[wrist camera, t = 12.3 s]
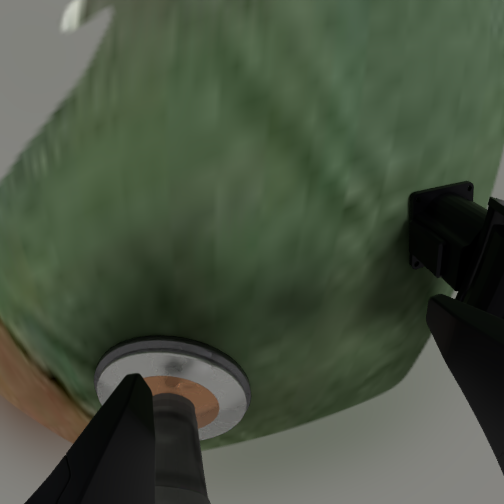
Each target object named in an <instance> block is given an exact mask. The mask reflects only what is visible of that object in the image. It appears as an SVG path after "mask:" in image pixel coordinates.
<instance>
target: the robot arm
mask: <svg viewBox="0 0 504 504" xmlns="http://www.w3.org/2000/svg"><path fill="white" fill-rule="evenodd" d="M468 186H469V187H468ZM473 190H474V186H473V184H472V183H471V182H469V181H465V182H460V183H455V184H450V185H446V186H441V187H436V188H431V189H427V190H422V191H417V192H414V193H413V194H412V195H411V199H410V203H411V222H410V236H409V252H410V266H411V267H412V268H413V269H418V268H421V267H424V266H425V267H426V268H427V269H429V270H430V271H431V272H432V273H433V274H434V275H435V276H436V277H437V278H440V277H442V278H443V279H444V280H445V281H446V282H447V283H448V284H449V285H450V286H451V287H452V288H453V289H454V290H455V291H458V293H457V296H456V298H455V299H453V298H451V297H448V296H446V295H443V294H438V295H435V296H432V297H430V299H429V301H428V308H427V314H426V322H427V325H428V327H429V329H430V331H431V333H432V335H433V337H434V339H435V341H436V343H437V346H438V348H439V350H440V352H441V354H442V356H443V358H444V360H445V362H446V364H447V366H448V368H449V369H450V371H451V373H452V374H453V376H454V378H455V380H456V381H457V383H458V385H459V387H460V388H461V390H462V392H463V393H464V395H465V397H466V399H467V401H468V403H469V405H470V406H471V408H472V410H473V412H474V414H475V416H476V418H477V420H478V422H479V424H480V426H481V427H482V429H483V431H484V433H485V435H486V437H487V440H488V442H489V444H490V446H491V448H492V450H493V452H494V454H495V456H496V459H497V461H498V463H499V465H500V467H501V470H502V472H503V475H504V201H503V200H500V199H497V198H493V197H490V198H489V202H488V205H489V207H488V210H487V209H485V208H483V207H482V206H480V205H478V204H476V203H475V202H473ZM417 197H418V200H417V201H416V198H417ZM416 261H417V262H416ZM415 262H416V264H415ZM155 449H156V436H155V423H154V409H153V395H152V391H151V389H150V387H149V386H148V384H147V383H146V382H145V380H144V379H143V377H142V376H141V374H139V373H132V374H127V375H126V376H125V377H124V378H123V379H122V381H121V382H120V383H119V385H118V386H117V387H116V388H115V390H114V391H113V392H112V394H111V395H110V396H109V398H108V399H107V400H106V401H105V403H104V404H103V405H102V407H101V408H100V409H99V411H98V412H97V413H96V415H95V416H94V417H93V418H92V420H91V421H90V422H89V424H88V425H87V426H86V428H85V429H84V430H83V432H82V433H81V434H80V436H79V437H78V438H77V440H76V441H75V442H74V444H73V445H72V446H71V448H70V449H69V450H68V452H67V453H66V455H65V456H64V457H63V459H62V460H61V461H60V463H59V464H58V465H57V466H56V468H55V469H54V470H53V471H52V473H51V474H50V475H49V477H48V478H47V479H46V480H45V481H44V482H43V483H42V485H41V486H40V487H39V488H38V489H37V490H36V491H35V492H34V493H33V495H32V496H31V497H30V498H29V499H28V500H27V501H26V502H25V503H24V504H155Z"/></svg>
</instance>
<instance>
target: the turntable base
mask: <svg viewBox="0 0 504 504" xmlns="http://www.w3.org/2000/svg"><path fill="white" fill-rule="evenodd" d="M145 348H172V349H179V350H185V351H189V352H193V353H197V354H200V355H203V356H206V357H208V358H210V359H212V360H215V361H217V362H218V363H220V364H222V365H224V366H225V367H226V368H228V369H229V370H230V371H232V372H233V373H234V374H235V375H236V376H237V378H238V379H239V380H240V381H241V383H242V385H243V387H244V390H245V394H246V404H247V406H246V411H247V409H248V407H249V404H250V400H251V390H250V384H249V380H248V378H247V376H246V374H245V372H244V371H243V369H242V368H241V366H240V365H239V364H238V363H237V362H236V361H235V360H233V359H232V358H231V357H229V356H228V355H227V354H225V353H223V352H221V351H220V350H218V349H216V348H214V347H211V346H209V345H207V344H204V343H201V342H198V341H194V340H190V339H186V338H180V337H174V336H145V337H138V338H134V339H129V340H126V341H124V342H121V343H119V344H117V345H115V346H113V347H112V348H110V349H109V350H108V351H107V352H106V353H105V354H104V355H103V356H102V357H101V359H100V361H99V362H98V365H97V368H96V371H95V375H94V385H95V390H96V392H97V384H98V380H99V377H100V374H101V371H102V370H103V368H104V367H105V366H106V364H107V363H108V362H110V361H111V360H112V359H113V358H115V357H117V356H119V355H121V354H124V353H126V352H129V351H133V350H138V349H145ZM97 395H98V394H97ZM246 411H245V412H246Z"/></svg>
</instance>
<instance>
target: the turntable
mask: <svg viewBox="0 0 504 504" xmlns="http://www.w3.org/2000/svg"><path fill="white" fill-rule="evenodd" d="M132 373H139V374H141V376H142V377H143V379H144V380H145V382H146V383H147V384H148V386H149V387H150V389H151V391H152V395H153V396H154V395H156V394H161V393H172V394H178V395H180V396H183V397H186V398H187V399H189V400H190V401H191V402H192V403H193V404H194V406H195V414H196V419H197V423H198V431H199V440H205V439H209V438H213V437H216V436H218V435H221V434H223V433H225V432H227V431H229V430H230V429H232V428H233V427H234V426H236V425H237V424H238V423H239V422H240V420H241V419H242V417H243V416H244V414H245V411H246V406H247V404H246V394H245V390H244V387H243V385H242V383H241V381H240V380H239V379H238V378H237V376H236V375H235V374H234V373H233V372H232V371H230V370H229V369H228V368H226V367H225V366H224V365H222V364H220V363H218V362H217V361H215V360H212V359H210V358H208V357H206V356H203V355H200V354H197V353H193V352H189V351H185V350H179V349H172V348H145V349H138V350H133V351H129V352H126V353H124V354H121V355H119V356H117V357H115V358H113V359H112V360H111V361H110V362H108V363H107V364H106V366H105V367H104V368H103V370H102V371H101V374H100V377H99V380H98V384H97V394H98V398H99V400H100V403H101V404H102V405H103V404H104V403H105V401H106V400H107V399H108V398H109V396H110V395H111V394H112V392H113V391H114V390H115V388H116V387H117V386H118V385H119V383H120V382H121V381H122V379H123V378H124V377H125V376H126V375H127V374H132Z"/></svg>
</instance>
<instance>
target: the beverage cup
mask: <svg viewBox="0 0 504 504" xmlns="http://www.w3.org/2000/svg"><path fill="white" fill-rule="evenodd" d="M153 409H154V423H155V436H156V449H155V504H210V501H209V499H208V496H207V490H206V483H205V477H204V470H203V463H202V455H201V448H200V440H199V431H198V423H197V419H196V414H195V406H194V404H193V403H192V402H191V401H190V400H189V399H187V398H186V397H183V396H180V395H178V394H172V393H161V394H156V395H154V396H153Z"/></svg>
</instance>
